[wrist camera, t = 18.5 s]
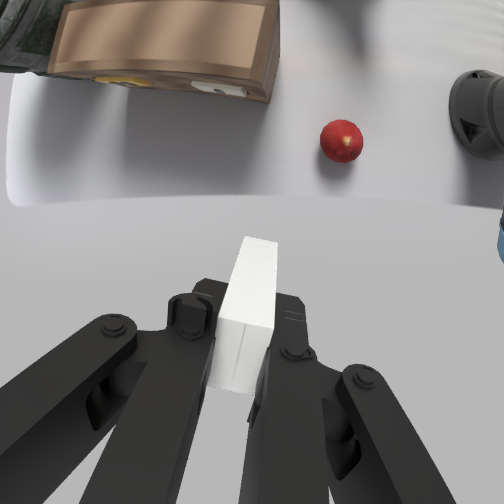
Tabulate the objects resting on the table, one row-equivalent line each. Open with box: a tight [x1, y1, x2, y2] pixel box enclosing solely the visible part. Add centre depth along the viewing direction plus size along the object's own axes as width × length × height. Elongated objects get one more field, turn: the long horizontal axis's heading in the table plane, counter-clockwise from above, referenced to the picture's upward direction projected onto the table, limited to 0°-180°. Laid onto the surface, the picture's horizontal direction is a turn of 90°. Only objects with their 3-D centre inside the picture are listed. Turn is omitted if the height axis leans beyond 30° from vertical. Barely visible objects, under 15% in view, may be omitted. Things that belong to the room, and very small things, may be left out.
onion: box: [320, 120, 363, 163], centre depth 38 cm, size 6×6×8 cm
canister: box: [0, 0, 86, 80], centre depth 25 cm, size 16×16×28 cm
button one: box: [191, 81, 247, 97], centre depth 30 cm, size 5×5×5 cm
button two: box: [95, 77, 152, 86], centre depth 30 cm, size 5×5×5 cm
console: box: [47, 0, 280, 104], centre depth 30 cm, size 22×8×20 cm, turn 79°
